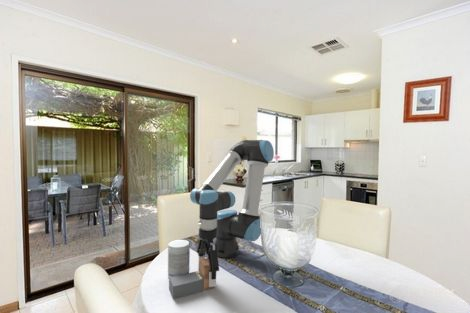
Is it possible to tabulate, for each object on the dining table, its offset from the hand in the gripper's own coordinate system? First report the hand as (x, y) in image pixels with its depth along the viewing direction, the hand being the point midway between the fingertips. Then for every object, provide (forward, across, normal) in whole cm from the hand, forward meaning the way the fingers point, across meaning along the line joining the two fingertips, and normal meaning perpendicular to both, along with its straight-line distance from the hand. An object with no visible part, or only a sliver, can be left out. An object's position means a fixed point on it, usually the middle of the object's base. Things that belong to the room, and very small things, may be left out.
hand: (206, 278), depth 100 cm
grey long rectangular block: (+3, 0, -9) cm, 9 cm away
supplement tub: (+3, -13, -9) cm, 16 cm away
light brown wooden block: (+3, 0, 0) cm, 3 cm away
